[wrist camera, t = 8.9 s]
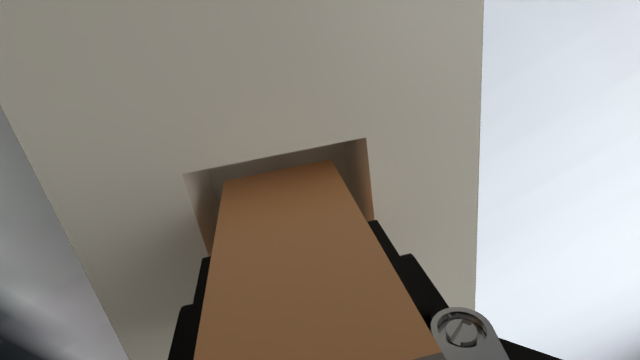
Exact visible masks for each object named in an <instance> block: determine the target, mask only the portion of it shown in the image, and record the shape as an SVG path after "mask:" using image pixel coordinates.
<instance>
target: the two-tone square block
mask: <svg viewBox="0 0 640 360" xmlns="http://www.w3.org/2000/svg"><path fill="white" fill-rule="evenodd" d="M194 360H446V358H445V356H444V354H443V353H442V351H441V349H440V348H439V346H438V344H437V342H436V341H435V339H434V337H433V335H432V334H431V332H430V330H429V328H428V327H427V325H426V323H425V321H424V320H423V318H422V316H421V315H420V313H419V311H418V309H417V308H416V306H415V304H414V302H413V301H412V299H411V297H410V295H409V294H408V292H407V290H406V289H405V287H404V285H403V283H402V282H401V280H400V278H399V276H398V275H397V273H396V271H395V269H394V268H393V266H392V264H391V262H390V261H389V259H388V257H387V256H386V254H385V252H384V250H383V249H382V247H381V245H380V243H379V242H378V240H377V238H376V236H375V235H374V233H373V231H372V229H371V228H370V226H369V224H368V223H367V221H366V219H365V217H364V216H363V214H362V212H361V210H360V209H359V207H358V205H357V203H356V202H355V200H354V198H353V196H352V195H351V193H350V191H349V190H348V188H347V186H346V184H345V183H344V181H343V179H342V177H341V176H340V174H339V172H338V170H337V169H336V167H335V165H334V164H333V162H332V160H331V159H330V160H325V161H320V162H315V163H310V164H305V165H300V166H295V167H290V168H285V169H280V170H276V171H271V172H266V173H261V174H256V175H251V176H246V177H241V178H236V179H231V180H226V181H224V185H223V190H222V196H221V202H220V208H219V214H218V220H217V225H216V231H215V237H214V243H213V249H212V255H211V260H210V266H209V272H208V278H207V284H206V290H205V295H204V301H203V307H202V313H201V319H200V325H199V330H198V336H197V342H196V348H195V354H194Z"/></svg>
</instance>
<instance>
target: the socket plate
mask: <svg viewBox="0 0 640 360" xmlns="http://www.w3.org/2000/svg"><path fill="white" fill-rule="evenodd" d="M483 12H484V0H0V106H1V108H2V110H3V112H4V114H5V116H6V117H7V119H8V121H9V123H10V125H11V127H12V129H13V131H14V133H15V135H16V137H17V139H18V141H19V143H20V145H21V147H22V149H23V151H24V153H25V155H26V157H27V159H28V161H29V163H30V165H31V167H32V169H33V171H34V173H35V175H36V177H37V179H38V181H39V183H40V184H41V186H42V188H43V190H44V192H45V194H46V196H47V198H48V200H49V202H50V204H51V206H52V208H53V210H54V212H55V214H56V216H57V218H58V220H59V222H60V224H61V226H62V228H63V230H64V232H65V234H66V236H67V238H68V240H69V242H70V244H71V246H72V248H73V250H74V251H75V253H76V255H77V257H78V259H79V261H80V263H81V265H82V267H83V269H84V271H85V273H86V275H87V277H88V279H89V281H90V283H91V285H92V287H93V289H94V291H95V293H96V295H97V297H98V299H99V301H100V303H101V305H102V307H103V309H104V311H105V313H106V315H107V317H108V318H109V320H110V322H111V324H112V326H113V328H114V330H115V332H116V334H117V336H118V338H119V340H120V342H121V344H122V346H123V348H124V350H125V352H126V354H127V356H128V358H129V360H168V356H169V352H170V348H171V344H172V340H173V336H174V331H175V327H176V323H177V319H178V315H179V311H180V309H181V307H182V306H185V305H189V304H193V300H194V295H195V290H196V285H197V281H198V276H199V271H200V266H201V261H202V258H205V257H209V256H211V255H212V249H213V243H214V237H215V231H216V225H217V220H218V214H219V208H220V202H221V196H222V190H223V185H224V181H226V180H231V179H236V178H241V177H246V176H251V175H256V174H261V173H266V172H271V171H276V170H280V169H285V168H290V167H295V166H300V165H305V164H310V163H315V162H320V161H325V160H330V159H331V160H332V162H333V164H334V165H335V167H336V169H337V170H338V172H339V174H340V176H341V177H342V179H343V181H344V183H345V184H346V186H347V188H348V190H349V191H350V193H351V195H352V196H353V198H354V200H355V202H356V203H357V205H358V207H359V209H360V210H361V212H362V214H363V216H364V217H365V219H366V221H367V222H368V221H372V220H377V221H378V222H379V224H380V225H381V227H382V228H383V230H384V232H385V233H386V235H387V236H388V238H389V239H390V241H391V243H392V244H393V246H394V247H395V249H396V251H397V252H398V254H399V255H400V256H401V255H405V254H409V253H411V254H412V255H413V256H414V257H415V258H416V260H417V261H418V263H419V264H420V265H421V267H422V268H423V270H424V271H425V273H426V274H427V276H428V277H429V278H430V280H431V281H432V283H433V284H434V286H435V287H436V289H437V290H438V292H439V293H440V294H441V296H442V297H443V299H444V300H445V302H446V303H447V305H448V306H449V307H463V308H468V309H472V310H474V311H475V288H476V254H477V219H478V185H479V150H480V115H481V81H482V46H483Z"/></svg>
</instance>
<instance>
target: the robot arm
mask: <svg viewBox="0 0 640 360" xmlns="http://www.w3.org/2000/svg"><path fill="white" fill-rule="evenodd" d="M367 223H368V224H369V226H370V228H371V229H372V231H373V233H374V235H375V236H376V238H377V240H378V242H379V243H380V245H381V247H382V249H383V250H384V252H385V254H386V256H387V257H388V259H389V261H390V262H391V264H392V266H393V268H394V269H395V271H396V273H397V275H398V276H399V278H400V280H401V282H402V283H403V285H404V287H405V289H406V290H407V292H408V294H409V295H410V297H411V299H412V301H413V302H414V304H415V306H416V308H417V309H418V311H419V313H420V315H421V316H422V318H423V320H424V321H425V323H426V325H427V327H428V328H429V330H430V332H431V334H432V335H433V337H434V339H435V341H436V342H437V344H438V346H439V348H440V349H441V351H442V353H443V354H444V356H445V358H446V360H562V359H559V358H556V357H553V356H550V355H547V354H544V353H541V352H538V351H535V350H532V349H530V348H527V347H524V346H521V345H518V344H515V343H512V342H509V341H506V340H503V339H500V338H498V336H497V334H496V332H495V331H494V329H493V327H492V325H491V324H490V322H489V321H488V320H487V319H486V318H485V317H484V316H483V315H481V314H480V313H478V312H476V311H474V310H472V309H468V308H463V307H449V306H448V305H447V303H446V302H445V300H444V299H443V297H442V296H441V294H440V293H439V292H438V290H437V289H436V287H435V286H434V284H433V283H432V281H431V280H430V278H429V277H428V276H427V274H426V273H425V271H424V270H423V268H422V267H421V265H420V264H419V263H418V261H417V260H416V258H415V257H414V256H413V255H412V254H411V253H409V254H405V255H401V256H400V255H399V254H398V252H397V251H396V249H395V247H394V246H393V244H392V243H391V241H390V239H389V238H388V236H387V235H386V233H385V232H384V230H383V228H382V227H381V225H380V224H379V222H378V221H377V220H372V221H368V222H367ZM210 260H211V256H209V257H205V258H202V261H201V266H200V271H199V276H198V281H197V285H196V290H195V295H194V300H193V304H189V305H185V306H182V307H181V309H180V311H179V315H178V319H177V323H176V327H175V331H174V336H173V340H172V344H171V348H170V352H169V356H168V360H194V354H195V348H196V342H197V336H198V330H199V325H200V319H201V313H202V307H203V301H204V295H205V290H206V284H207V278H208V272H209V266H210Z"/></svg>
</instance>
